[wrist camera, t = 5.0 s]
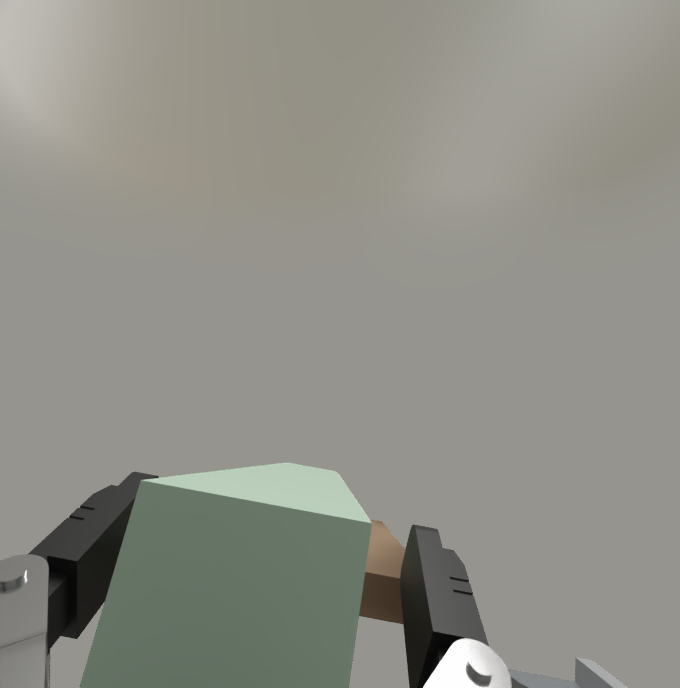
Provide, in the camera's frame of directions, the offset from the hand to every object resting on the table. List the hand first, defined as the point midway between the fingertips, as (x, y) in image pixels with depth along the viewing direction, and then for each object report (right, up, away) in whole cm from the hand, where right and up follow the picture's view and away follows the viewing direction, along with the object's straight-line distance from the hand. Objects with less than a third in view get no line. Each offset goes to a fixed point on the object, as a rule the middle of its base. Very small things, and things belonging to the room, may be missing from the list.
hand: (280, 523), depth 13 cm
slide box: (-1, -3, +6) cm, 7 cm away
